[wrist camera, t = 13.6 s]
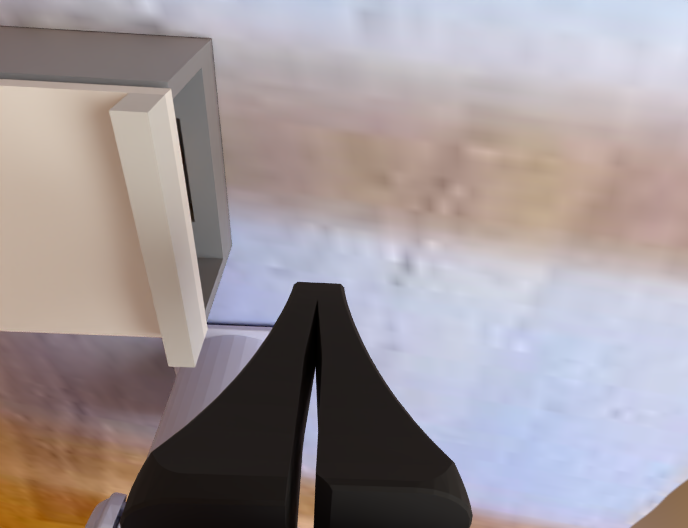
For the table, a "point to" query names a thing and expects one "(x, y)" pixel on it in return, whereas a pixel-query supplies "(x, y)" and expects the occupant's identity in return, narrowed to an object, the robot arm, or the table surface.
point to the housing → (158, 72)
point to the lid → (96, 216)
